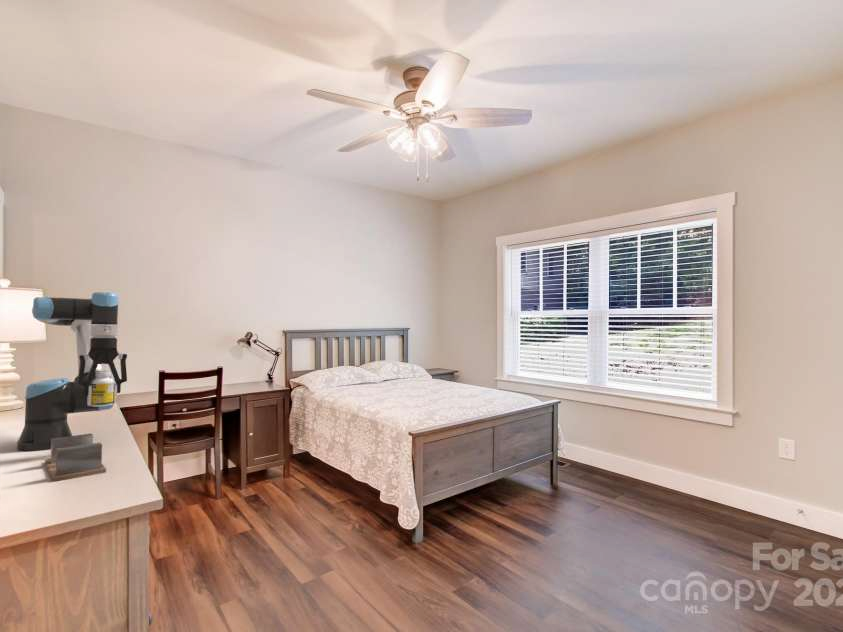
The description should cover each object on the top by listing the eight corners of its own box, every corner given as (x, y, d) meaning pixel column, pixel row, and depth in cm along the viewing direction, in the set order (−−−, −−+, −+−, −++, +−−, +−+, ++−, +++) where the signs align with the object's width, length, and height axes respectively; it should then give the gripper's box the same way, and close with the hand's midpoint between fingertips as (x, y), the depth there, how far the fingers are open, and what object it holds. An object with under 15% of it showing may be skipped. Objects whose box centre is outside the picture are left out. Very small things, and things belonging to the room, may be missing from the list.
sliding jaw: (49, 458, 139) (49, 436, 139) (88, 452, 146) (89, 431, 146) (51, 463, 134) (52, 440, 134) (92, 457, 141) (92, 435, 141)
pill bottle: (86, 406, 151) (86, 372, 151) (105, 403, 157) (106, 370, 157) (98, 407, 148) (99, 373, 149) (117, 404, 154) (118, 371, 155)
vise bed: (44, 462, 138) (45, 436, 138) (92, 455, 146) (93, 430, 147) (52, 481, 121) (53, 452, 121) (106, 472, 129) (106, 444, 129)
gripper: (69, 337, 144) (67, 408, 143) (139, 337, 157) (137, 402, 157) (66, 337, 149) (64, 405, 149) (134, 336, 163) (132, 399, 162)
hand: (102, 403), depth 153 cm, fingers closed on pill bottle, 6 cm apart
